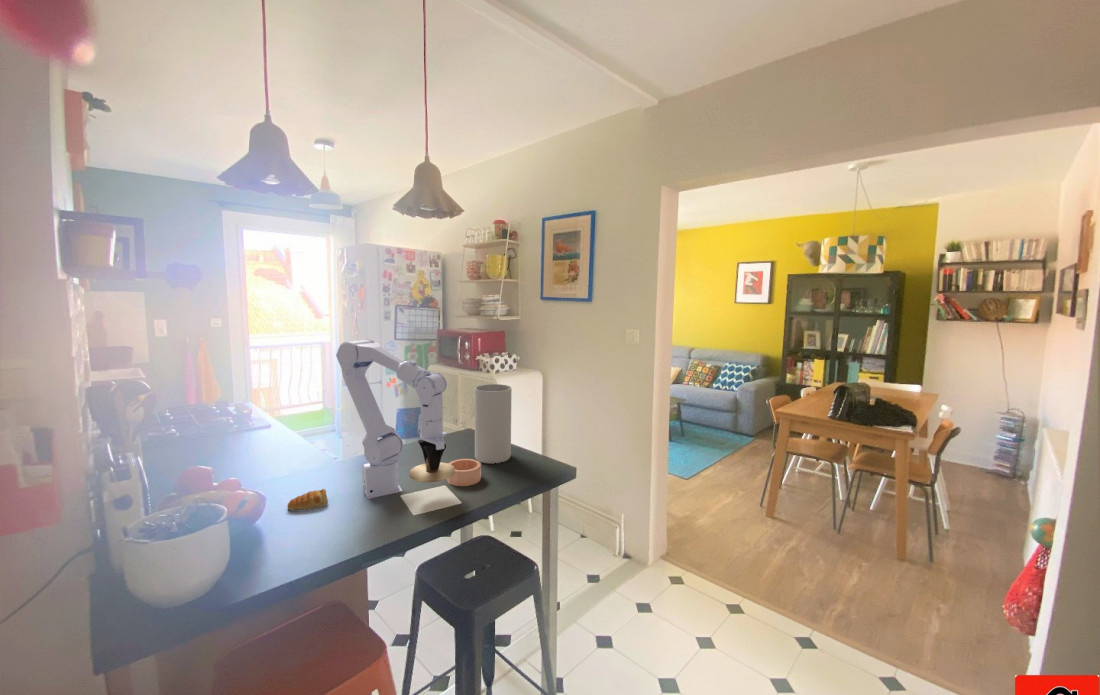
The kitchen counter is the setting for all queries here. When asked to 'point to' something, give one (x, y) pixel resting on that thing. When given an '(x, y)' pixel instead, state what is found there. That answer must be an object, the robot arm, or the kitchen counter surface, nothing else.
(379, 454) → the robot arm
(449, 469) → the lid
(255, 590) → the kitchen counter surface
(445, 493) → the mat
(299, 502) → the pastry
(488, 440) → the cylinder vase
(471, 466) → the bowl
